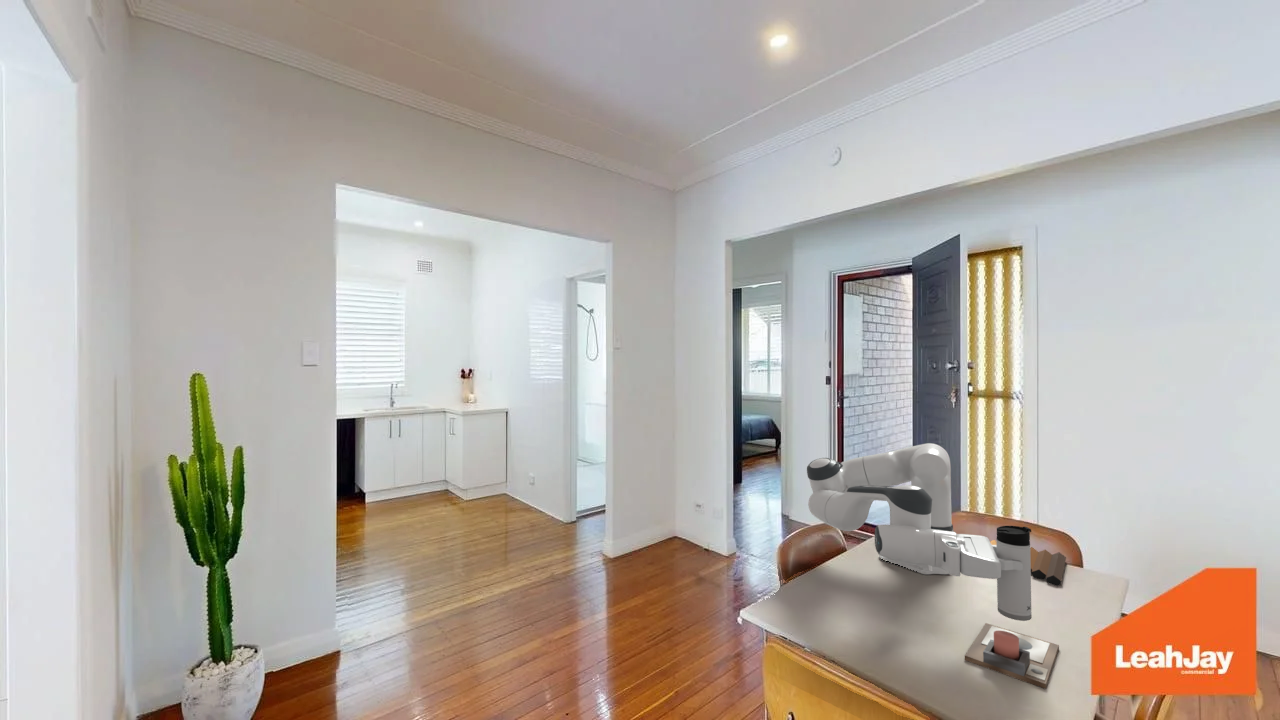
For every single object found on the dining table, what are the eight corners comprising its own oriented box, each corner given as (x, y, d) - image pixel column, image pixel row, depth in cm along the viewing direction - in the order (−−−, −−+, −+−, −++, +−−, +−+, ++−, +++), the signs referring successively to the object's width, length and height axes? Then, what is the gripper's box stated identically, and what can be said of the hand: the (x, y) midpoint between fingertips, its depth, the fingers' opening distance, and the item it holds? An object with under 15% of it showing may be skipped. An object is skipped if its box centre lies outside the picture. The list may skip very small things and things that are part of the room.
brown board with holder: (964, 660, 110) (964, 645, 110) (985, 626, 124) (985, 613, 124) (1045, 689, 100) (1045, 672, 100) (1058, 649, 114) (1058, 635, 114)
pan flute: (1061, 588, 146) (1066, 563, 164) (1061, 576, 146) (1066, 553, 165) (962, 566, 163) (976, 545, 181) (961, 555, 163) (976, 536, 182)
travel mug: (1039, 622, 111) (1037, 532, 111) (1006, 619, 112) (1004, 530, 112) (1023, 609, 117) (1022, 523, 117) (992, 606, 118) (990, 522, 119)
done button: (991, 654, 107) (991, 635, 107) (996, 646, 110) (996, 628, 110) (1017, 663, 104) (1016, 643, 104) (1021, 654, 107) (1020, 635, 107)
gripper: (945, 549, 130) (1010, 558, 123) (951, 578, 112) (1028, 591, 105) (944, 524, 130) (1010, 532, 123) (951, 550, 112) (1028, 561, 105)
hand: (1018, 559), depth 114 cm, fingers closed on travel mug, 6 cm apart
